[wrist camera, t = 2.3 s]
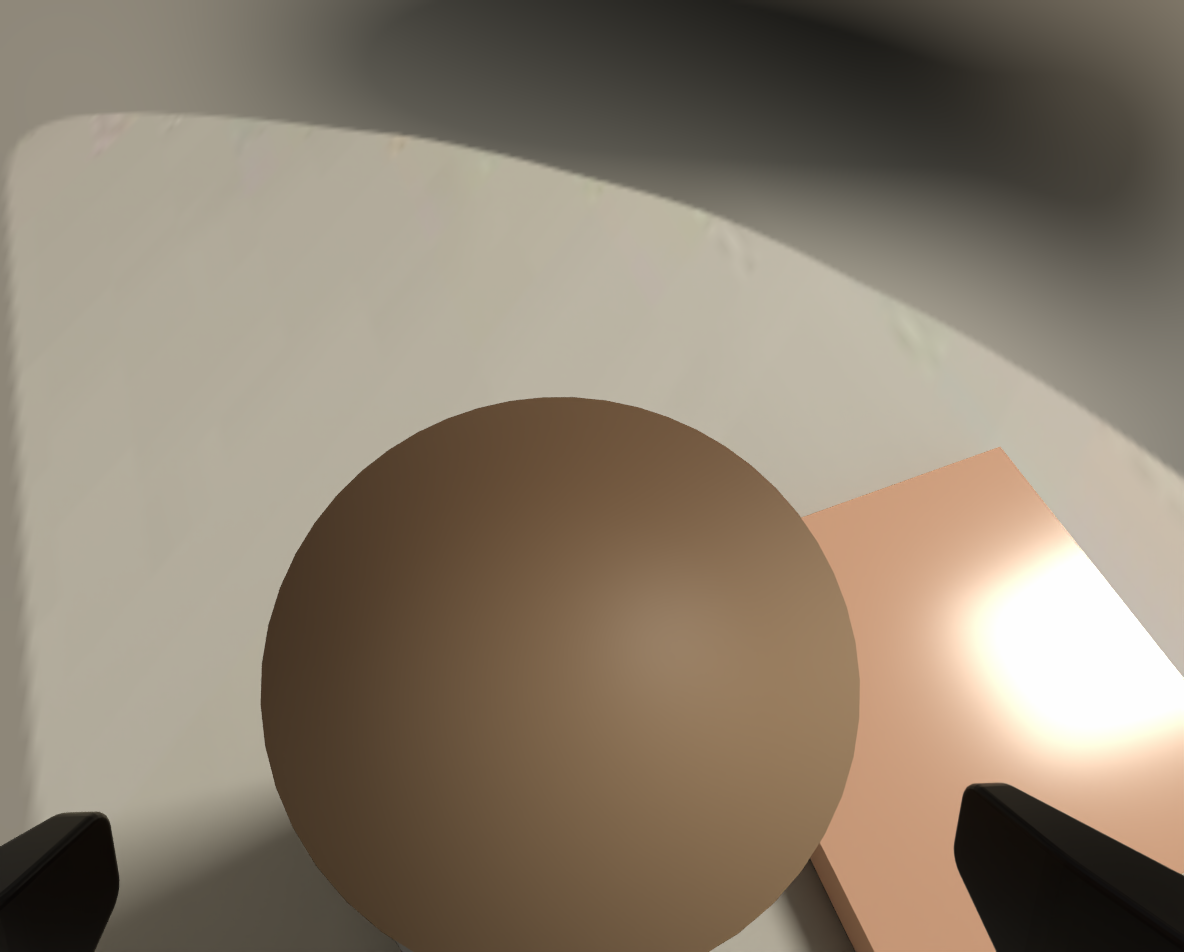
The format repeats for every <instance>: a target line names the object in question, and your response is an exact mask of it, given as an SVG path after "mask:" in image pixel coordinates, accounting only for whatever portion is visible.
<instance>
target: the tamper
mask: <svg viewBox="0 0 1184 952" xmlns="http://www.w3.org/2000/svg"><path fill="white" fill-rule="evenodd" d="M859 704H860V677H859V668H858V659H857V651H856V642H855V638H854V634H853V630H852V626H851V622H850V618H849V614H848V610H847V606H846V603H845V601H844V598H843V595H842V593H841V590H840V588H839V585H838V582H837V580H836V577H835V575H834V572H833V570H832V568H831V567H830V565H829V563H828V561H827V559H826V557H825V555H824V553H823V551H822V549H821V548H820V546H819V544H818V542H817V540H816V539H815V537H814V536H813V535H812V533H811V532H810V530H809V529H808V527H807V526H806V524H805V523H804V521H803V520H802V519H801V517H800V516H799V514H798V513H797V512H796V511H795V509H794V508H793V507H792V506H791V505H790V504H789V503H788V501H787V500H786V499H785V498H784V497H783V496H782V495H781V493H780V492H779V491H778V490H777V489H776V488H775V487H774V486H773V485H772V484H771V483H770V482H769V481H768V480H767V479H765V478H764V477H763V476H762V475H761V474H760V473H759V472H758V471H757V470H756V469H755V468H753V467H752V466H751V465H750V464H749V463H747V462H746V461H744V460H743V459H742V458H740V457H739V456H738V455H736V454H735V453H734V452H732V451H731V450H729V449H728V448H727V447H725V446H724V445H722V444H720V443H719V442H717V441H715V440H713V439H712V438H710V437H708V436H706V435H705V434H703V433H701V432H700V431H698V430H696V429H694V428H691V427H689V426H687V425H685V424H682V423H680V422H678V421H676V420H673V419H671V418H669V417H666V416H663V415H660V414H657V413H654V412H651V411H648V410H644V409H641V408H638V407H634V406H629V405H625V404H620V403H615V402H610V401H605V400H595V399H585V398H575V397H551V398H534V399H525V400H516V401H508V402H504V403H499V404H495V405H490V406H486V407H481V408H477V409H474V410H471V411H469V412H466V413H463V414H460V415H457V416H454V417H451V418H448V419H446V420H443V421H441V422H439V423H437V424H435V425H433V426H431V427H428V428H426V429H424V430H422V431H420V432H418V433H416V434H414V435H413V436H411V437H409V438H408V439H406V440H404V441H403V442H401V443H400V444H398V445H396V446H395V447H393V448H391V449H390V450H388V451H387V452H386V453H384V454H383V455H382V456H380V457H379V458H378V459H377V460H375V461H374V462H373V463H371V464H370V465H369V466H368V467H366V468H365V469H364V470H362V471H361V472H360V473H359V474H358V475H357V476H356V477H355V478H354V479H353V480H352V481H351V482H350V483H349V484H348V485H347V486H346V487H345V488H344V489H343V490H342V491H341V492H340V493H339V494H338V495H337V496H336V497H335V498H334V500H333V501H332V502H331V503H330V505H329V506H328V507H327V508H326V510H325V511H324V512H323V513H322V515H321V516H320V517H319V518H318V520H317V521H316V522H315V523H314V525H313V527H312V528H311V530H310V532H309V533H308V535H307V536H306V538H305V540H304V541H303V543H302V544H301V546H300V548H299V549H298V551H297V552H296V554H295V556H294V559H293V561H292V563H291V565H290V567H289V569H288V572H287V574H286V576H285V578H284V580H283V583H282V585H281V587H280V590H279V593H278V596H277V599H276V603H275V606H274V609H273V612H272V615H271V619H270V622H269V625H268V631H267V637H266V643H265V649H264V655H263V661H262V680H261V711H262V720H263V730H264V739H265V747H266V751H267V754H268V758H269V762H270V766H271V770H272V774H273V778H274V782H275V786H276V789H277V791H278V793H279V796H280V798H281V800H282V803H283V805H284V808H285V810H286V812H287V815H288V817H289V819H290V822H291V824H292V827H293V828H294V830H295V832H296V833H297V835H298V837H299V838H300V840H301V842H302V843H303V845H304V846H305V848H306V850H307V851H308V853H309V855H310V856H311V858H312V860H313V861H314V863H315V864H316V866H317V867H318V868H319V870H320V871H321V872H322V873H323V874H324V876H325V877H326V878H327V879H328V880H329V881H330V883H331V884H332V885H333V886H334V887H335V889H336V890H337V891H338V892H339V893H340V895H341V896H342V897H343V898H344V899H345V900H346V901H347V902H348V903H349V904H350V905H351V906H352V907H353V908H355V909H356V910H357V911H358V912H359V913H360V914H362V915H363V916H364V917H365V918H366V919H367V920H368V921H370V922H371V923H372V924H373V925H374V926H375V927H377V928H378V929H379V930H380V931H381V932H383V933H384V934H386V935H387V936H389V937H391V938H392V939H394V940H395V941H396V943H397V944H398V946H399V947H400V949H401V951H402V952H709V951H711V950H712V949H714V948H715V947H717V946H719V945H720V944H722V943H724V942H725V941H727V940H728V939H730V938H732V937H733V936H735V935H737V934H738V933H739V932H741V931H742V930H743V929H744V928H745V927H746V926H748V925H749V924H750V923H751V922H752V921H754V920H755V919H756V918H757V917H758V916H759V915H761V914H762V913H763V912H764V911H765V910H766V909H768V908H769V907H770V906H771V905H772V904H773V903H774V902H775V901H776V900H777V899H778V898H779V896H780V895H781V894H782V893H783V892H784V891H785V889H786V888H787V887H788V886H789V885H790V884H791V883H792V881H793V880H794V879H795V878H796V877H797V876H798V875H799V873H800V872H801V871H802V870H803V868H804V866H805V865H806V863H807V862H808V860H809V859H810V857H811V855H812V854H813V852H814V851H815V849H816V848H817V846H818V845H819V843H820V841H821V840H822V838H823V837H824V835H825V833H826V831H827V829H828V826H829V824H830V822H831V820H832V818H833V815H834V813H835V811H836V809H837V807H838V804H839V802H840V800H841V798H842V795H843V792H844V788H845V785H846V781H847V778H848V774H849V771H850V768H851V764H852V761H853V757H854V751H855V744H856V737H857V730H858V723H859Z"/></svg>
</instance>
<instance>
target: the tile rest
mask: <svg viewBox="0 0 1184 952" xmlns="http://www.w3.org/2000/svg"><path fill="white" fill-rule="evenodd" d="M801 519H802V520H803V521H804V523H805V524H806V526H807V527H808V529H809V530H810V532H811V533H812V535H813V536H814V537H815V539H816V540H817V542H818V544H819V546H820V548H821V549H822V551H823V553H824V555H825V557H826V559H827V561H828V563H829V565H830V567H831V568H832V570H833V572H834V575H835V577H836V580H837V582H838V585H839V588H840V590H841V593H842V595H843V598H844V601H845V603H846V606H847V610H848V614H849V618H850V622H851V626H852V630H853V634H854V638H855V642H856V651H857V659H858V668H859V677H860V704H859V723H858V730H857V737H856V744H855V751H854V757H853V761H852V764H851V768H850V771H849V774H848V778H847V781H846V785H845V788H844V792H843V795H842V798H841V800H840V802H839V804H838V807H837V809H836V811H835V813H834V815H833V818H832V820H831V822H830V824H829V826H828V829H827V831H826V833H825V835H824V837H823V838H822V840H821V841H820V843H819V845H818V846H817V848H816V849H815V851H814V852H813V854H812V855H811V857H810V859H811V861H812V863H813V865H814V868H815V870H816V872H817V874H818V876H819V878H820V880H821V882H822V884H823V886H824V888H825V890H826V892H827V894H828V896H829V898H830V900H831V902H832V904H833V906H834V908H835V911H836V913H837V915H838V917H839V919H840V921H841V923H842V925H843V927H844V929H845V931H846V933H847V935H848V937H849V939H850V941H851V943H852V945H853V947H854V949H855V951H856V952H996V951H995V948H994V946H993V944H992V942H991V940H990V938H989V936H988V933H987V931H986V929H985V927H984V925H983V923H982V921H981V919H980V916H979V914H978V912H977V910H976V908H975V906H974V904H973V902H972V899H971V897H970V895H969V893H968V891H967V889H966V887H965V884H964V882H963V880H962V878H961V876H960V874H959V871H958V869H957V866H956V862H955V858H954V840H955V834H956V829H957V823H958V817H959V812H960V806H961V801H962V796H963V792H964V790H965V789H966V787H967V786H969V785H971V784H974V783H998V782H999V783H1006V784H1009V785H1012V786H1014V787H1016V788H1017V789H1019V790H1021V791H1023V792H1025V793H1027V794H1029V795H1031V796H1033V797H1035V798H1037V799H1039V800H1040V801H1042V802H1044V803H1046V804H1048V805H1050V806H1052V807H1054V808H1056V809H1058V810H1060V811H1061V812H1063V813H1065V814H1067V815H1069V816H1071V817H1073V818H1075V819H1077V820H1079V821H1081V822H1082V823H1084V824H1086V825H1088V826H1090V827H1092V828H1094V829H1096V830H1098V831H1100V832H1102V833H1103V834H1105V835H1107V836H1109V837H1111V838H1113V839H1115V840H1117V841H1119V842H1121V843H1123V844H1125V845H1126V846H1128V847H1130V848H1132V849H1134V850H1136V851H1138V852H1140V853H1142V854H1144V855H1146V856H1147V857H1149V858H1151V859H1153V860H1155V861H1157V862H1159V863H1161V864H1163V865H1165V866H1167V867H1168V868H1170V869H1172V870H1174V871H1176V872H1178V873H1180V874H1182V873H1184V678H1183V677H1182V676H1181V675H1180V673H1179V672H1178V671H1177V670H1176V668H1175V667H1174V666H1173V664H1172V663H1171V662H1170V661H1169V659H1168V658H1167V657H1166V656H1165V654H1164V653H1163V652H1162V651H1161V649H1160V648H1159V647H1158V646H1157V644H1156V643H1155V642H1154V640H1153V639H1152V638H1151V637H1150V635H1149V634H1148V633H1147V632H1146V630H1145V629H1144V628H1143V627H1142V625H1141V624H1140V623H1139V621H1138V620H1137V619H1136V618H1135V616H1134V615H1133V614H1132V613H1131V611H1130V610H1129V609H1128V608H1127V606H1126V605H1125V604H1124V603H1123V601H1122V600H1121V599H1120V597H1119V596H1118V595H1117V594H1116V592H1115V591H1114V590H1113V589H1112V587H1111V586H1110V585H1109V584H1108V582H1107V581H1106V580H1105V579H1104V577H1103V576H1102V575H1101V573H1100V572H1099V571H1098V570H1097V568H1096V567H1095V566H1094V565H1093V563H1092V562H1091V561H1090V560H1089V558H1088V557H1087V556H1086V554H1085V553H1084V552H1083V551H1082V549H1081V548H1080V547H1079V546H1078V544H1077V543H1076V542H1075V541H1074V539H1073V538H1072V537H1071V536H1070V534H1069V533H1068V532H1067V530H1066V529H1065V528H1064V527H1063V525H1062V524H1061V523H1060V522H1059V520H1058V519H1057V518H1056V517H1055V515H1054V514H1053V513H1052V512H1051V510H1050V509H1049V508H1048V506H1047V505H1046V504H1045V503H1044V501H1043V500H1042V499H1041V498H1040V496H1039V495H1038V494H1037V493H1036V491H1035V490H1034V489H1033V487H1032V486H1031V485H1030V484H1029V482H1028V481H1027V480H1026V479H1025V477H1024V476H1023V475H1022V474H1021V472H1020V471H1019V470H1018V469H1017V467H1016V466H1015V465H1014V463H1013V462H1012V461H1011V460H1010V458H1009V457H1008V456H1007V455H1006V453H1005V452H1004V451H1003V450H1002V448H1001V447H998V448H995V449H992V450H990V451H987V452H984V453H981V454H978V455H976V456H973V457H970V458H967V459H964V460H962V461H959V462H956V463H953V464H950V465H948V466H945V467H942V468H939V469H936V470H934V471H931V472H928V473H925V474H922V475H920V476H917V477H914V478H911V479H908V480H906V481H903V482H900V483H897V484H894V485H891V486H889V487H886V488H883V489H880V490H877V491H875V492H872V493H869V494H866V495H863V496H861V497H858V498H855V499H852V500H849V501H847V502H844V503H841V504H838V505H835V506H833V507H830V508H827V509H824V510H821V511H819V512H816V513H813V514H810V515H807V516H805V517H802V518H801Z"/></svg>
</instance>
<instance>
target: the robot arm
mask: <svg viewBox="0 0 1184 952" xmlns="http://www.w3.org/2000/svg"><path fill="white" fill-rule="evenodd" d="M954 858H955V862H956V866H957V869H958V871H959V874H960V876H961V878H962V880H963V882H964V884H965V887H966V889H967V891H968V893H969V895H970V897H971V899H972V902H973V904H974V906H975V908H976V910H977V912H978V914H979V916H980V919H981V921H982V923H983V925H984V927H985V929H986V931H987V933H988V936H989V938H990V940H991V942H992V944H993V946H994V948H995V951H996V952H1184V875H1182V874H1180V873H1178V872H1176V871H1174V870H1172V869H1170V868H1168V867H1167V866H1165V865H1163V864H1161V863H1159V862H1157V861H1155V860H1153V859H1151V858H1149V857H1147V856H1146V855H1144V854H1142V853H1140V852H1138V851H1136V850H1134V849H1132V848H1130V847H1128V846H1126V845H1125V844H1123V843H1121V842H1119V841H1117V840H1115V839H1113V838H1111V837H1109V836H1107V835H1105V834H1103V833H1102V832H1100V831H1098V830H1096V829H1094V828H1092V827H1090V826H1088V825H1086V824H1084V823H1082V822H1081V821H1079V820H1077V819H1075V818H1073V817H1071V816H1069V815H1067V814H1065V813H1063V812H1061V811H1060V810H1058V809H1056V808H1054V807H1052V806H1050V805H1048V804H1046V803H1044V802H1042V801H1040V800H1039V799H1037V798H1035V797H1033V796H1031V795H1029V794H1027V793H1025V792H1023V791H1021V790H1019V789H1017V788H1016V787H1014V786H1012V785H1009V784H1006V783H999V782H998V783H974V784H971V785H969V786H967V787H966V789H965V790H964V792H963V796H962V801H961V806H960V812H959V817H958V823H957V829H956V834H955V840H954ZM118 891H119V872H118V867H117V861H116V855H115V849H114V843H113V837H112V831H111V825H110V822H109V819H108V818H107V816H106V815H105V814H103V813H101V812H69V813H61V814H57V815H55V816H53V817H51V818H49V819H48V820H46V821H44V822H42V823H41V824H39V825H37V826H35V827H34V828H32V829H30V830H28V831H27V832H25V833H23V834H21V835H20V836H18V837H16V838H14V839H13V840H11V841H9V842H7V843H6V844H4V845H2V846H0V952H94V951H95V949H96V947H97V945H98V942H99V940H100V938H101V936H102V933H103V931H104V929H105V927H106V924H107V922H108V920H109V918H110V915H111V913H112V911H113V909H114V906H115V903H116V900H117V896H118Z"/></svg>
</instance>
